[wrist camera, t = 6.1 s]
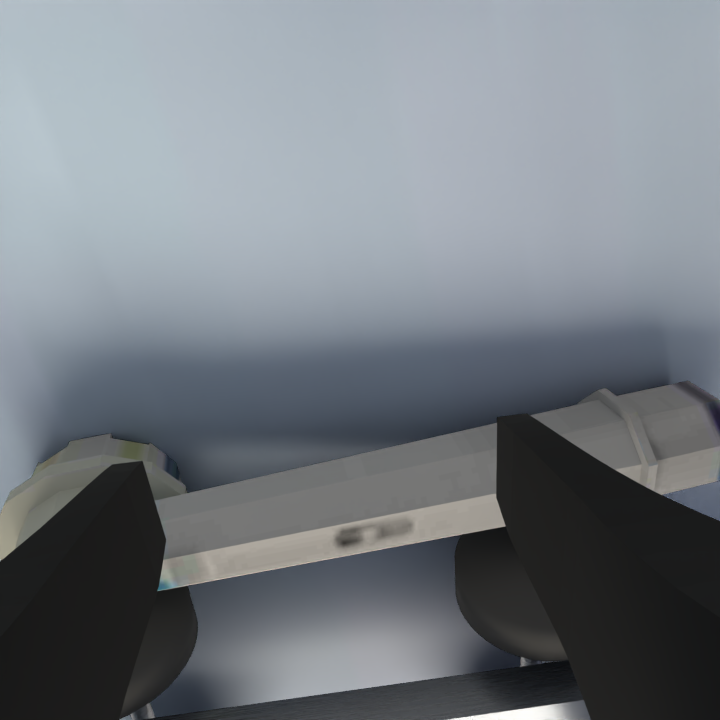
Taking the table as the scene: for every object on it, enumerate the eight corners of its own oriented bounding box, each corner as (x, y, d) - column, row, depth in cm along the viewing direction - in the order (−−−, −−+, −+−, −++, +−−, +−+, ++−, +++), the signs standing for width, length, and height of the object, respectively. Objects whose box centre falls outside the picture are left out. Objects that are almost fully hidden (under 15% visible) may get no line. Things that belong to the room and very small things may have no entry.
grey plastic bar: (728, 525, 22) (-13, 716, 18) (616, 430, 27) (43, 557, 23) (756, 399, 19) (-89, 586, 15) (628, 325, 25) (-5, 446, 21)
